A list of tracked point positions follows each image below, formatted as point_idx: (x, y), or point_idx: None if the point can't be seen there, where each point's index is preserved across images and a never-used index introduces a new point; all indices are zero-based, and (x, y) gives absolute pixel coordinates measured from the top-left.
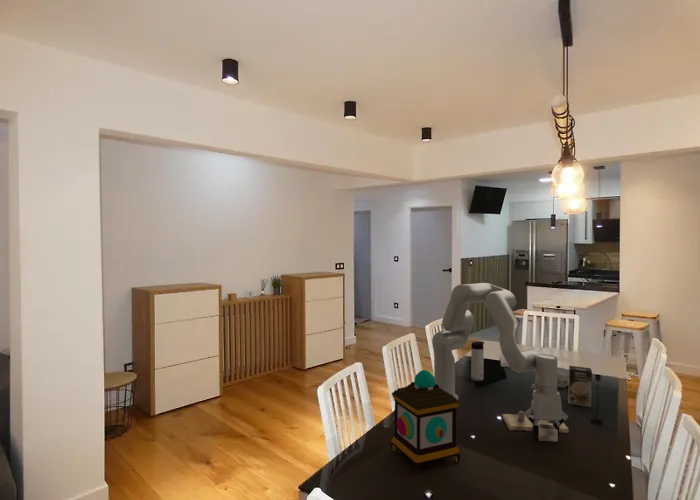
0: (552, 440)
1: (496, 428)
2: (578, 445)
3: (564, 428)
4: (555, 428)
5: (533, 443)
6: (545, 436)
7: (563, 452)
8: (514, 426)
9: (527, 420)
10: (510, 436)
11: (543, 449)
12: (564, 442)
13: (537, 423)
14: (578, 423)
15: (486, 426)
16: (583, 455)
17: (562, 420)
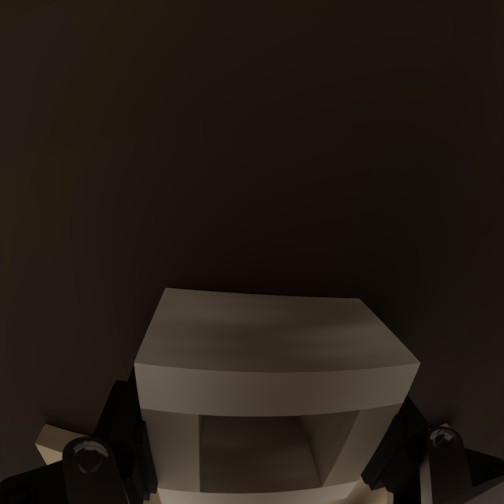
0: (223, 295)
1: (484, 415)
2: (3, 207)
3: (61, 454)
4: (149, 428)
5: (435, 235)
6: (314, 321)
7: (218, 24)
8: None
9: None
10: (496, 339)
11: (402, 102)
12: (99, 269)
13: (427, 456)
14: (12, 475)
15: (501, 418)
16: (58, 6)
17: (15, 502)
